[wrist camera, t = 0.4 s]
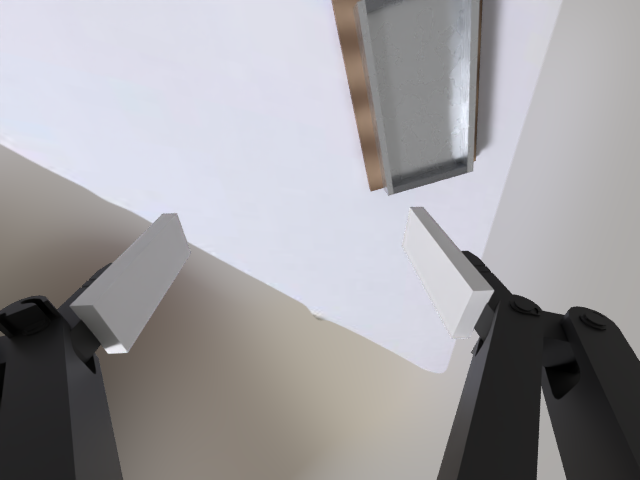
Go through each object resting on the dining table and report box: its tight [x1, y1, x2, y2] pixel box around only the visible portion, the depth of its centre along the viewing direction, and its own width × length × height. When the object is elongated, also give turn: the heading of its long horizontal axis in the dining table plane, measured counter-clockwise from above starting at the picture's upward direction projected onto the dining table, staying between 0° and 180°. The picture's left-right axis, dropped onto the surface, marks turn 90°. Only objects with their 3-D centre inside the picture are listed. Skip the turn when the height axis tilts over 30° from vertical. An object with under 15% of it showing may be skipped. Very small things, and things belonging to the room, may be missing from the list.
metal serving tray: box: [353, 0, 480, 196], centre depth 32 cm, size 22×12×3 cm, turn 17°
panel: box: [332, 0, 482, 191], centre depth 33 cm, size 24×16×1 cm, turn 17°
